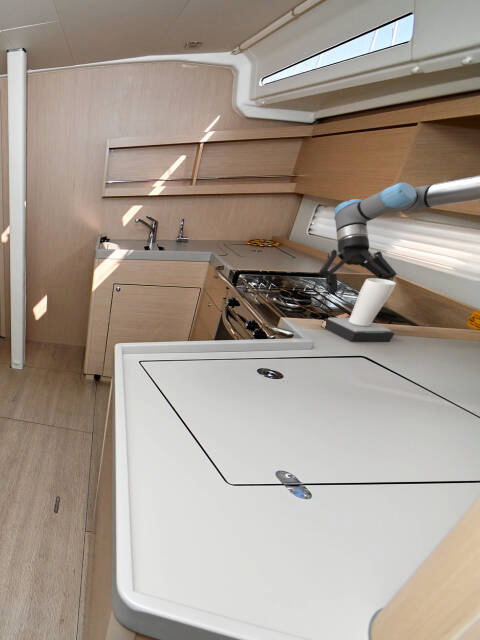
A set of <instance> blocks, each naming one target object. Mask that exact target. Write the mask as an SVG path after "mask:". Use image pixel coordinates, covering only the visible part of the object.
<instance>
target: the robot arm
mask: <svg viewBox="0 0 480 640" xmlns="http://www.w3.org/2000/svg"><path fill="white" fill-rule="evenodd" d="M479 201H480V175H475V176H470V177H464V178H458V179H453V180H448V181H443V182H437V183H432V184H427V185H421V186H416V187H413V185H411V184H409V183H407V182H398V183H396V184H394V185H392V186H388V187H386V188H384V189H383V190H381V191H379V192H377V193H375V194H373V195H371V196H369V197H367V198H364V199H363V200H362V199H355V198H354V199H350V200H347V201H343V202H341V203H339V204H338V205H337V206H336V207H335V209H334V221H335V228H336V229H335V230H336V231H335V232H336V240H337V241H336V242H337V249H333V250H331V251H330V252H328V254H327V259H326V260H325V262H324V263H323V265H322V266H321V268H320V270H318V272H317V274H318V275H319V276H322V277H323V278H324V279H325V284H326V285H328V291H329V295H334V294H335V293H337V292H338V291H339V285H338V276H337V273H336V271H338V270H339V269H340V268H341V267H342V266H343V265H345V264H346V265H348V266H351V265H354V266H360V267H362V268H365V269H367V270H368V271H369V272H370V273H371V274H373V275H374V276H375V277H376V278H378V279H385V280H390V279H392V278H394V277H396V276H397V275H398V274H397V272H396V271H395V270H394V269H393V267H392V266H391V264H390V263H389V262H388V261H387V260H386V259H385V258H384V257H383V253H382V251H377V252H370V241H369V233H368V232H369V231H368V225H367V223H368V222H370V221H372V220H374V219H376V218H379V217H381V216H384V215H386V214H389V213H398V212H399V213H400V212H411V211H412V212H414V211H419V210H424V209H430V208H436V207H443V206H450V205H457V204H464V203H472V202H479ZM337 257H338V258H339V259H340V261H339V262H338V263H337V264H335V265H334V266H333V267H332V268H331V269H330V267H331V265H332V264H333V263H334V261H335V259H336V258H337ZM329 269H330V270H329Z"/></svg>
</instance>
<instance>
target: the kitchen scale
mask: <svg viewBox="0 0 480 640" xmlns="http://www.w3.org/2000/svg"><path fill="white" fill-rule="evenodd" d="M349 318H350V317H327V318H323V320H324V321H326V326H325V330H327V331H328V332H330V333H332V334H334V335H336V336H339V337H340V338H342V339H344V340H346V341H348V342H350V343H364V342H365V343H390V342H391V340H392V338H393V337H394V336H395V332H393V331H392V330H391V329H389V328H386V327H385V326H382V325H379V324H377V323H375V322H372V323H371V325H369V326H358V325H354V324H351V323H350V322H349V321H348V320H349Z"/></svg>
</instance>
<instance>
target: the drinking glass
mask: <svg viewBox="0 0 480 640" xmlns="http://www.w3.org/2000/svg"><path fill="white" fill-rule="evenodd" d="M396 285H397V283H396V282H395V281H393V280H390V279H389V280H385V279H379V278H378V277H376V278H375V277H369V278H366V279H365V280H364V282H363V284H362V286H361V288H360V290H359V292H358V295H357V298H356V301H355V304H354V306H353V308H352V311H351V314H350V316H349V317H348V318H349V320H348V321H349V322H350V323H351V324H354V325H358V326H369V325H371V323H373V321H374V320H375V318H376V317H377V315H378V314H379V312H380V311H381V309H382V308H383V307H384V305H385V304H386V302H387V301H388V300H389V298H390V296H391V295H392V293H393V291H394V290H395V287H396Z"/></svg>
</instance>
